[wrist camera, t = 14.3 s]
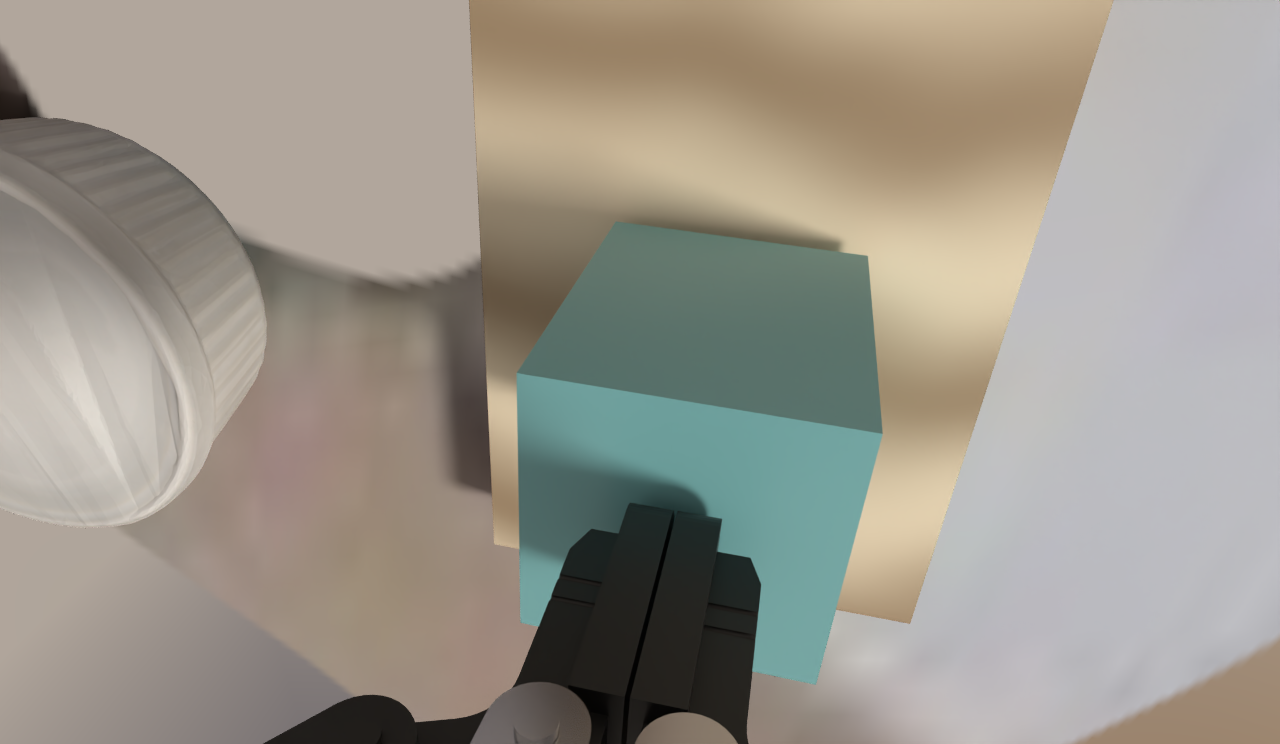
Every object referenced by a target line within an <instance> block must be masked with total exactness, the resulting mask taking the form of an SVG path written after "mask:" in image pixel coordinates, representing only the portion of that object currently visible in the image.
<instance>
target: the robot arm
mask: <svg viewBox="0 0 1280 744" xmlns="http://www.w3.org/2000/svg"><path fill="white" fill-rule="evenodd" d="M721 526H722V519H721V518H716V517H710V516H704V515H699V514H693V513H688V512H682V511H677V514H676V517H675V521H674V510H670V509H664V508H658V507H653V506H647V505H642V504H636V503H629V504H628V507H627V509H626V512H625V515H624V518H623V521H622V524H621V527H620V530H619V533H612V532H607V531H602V530H596V529H591V530H589V531H588V532H587V533H586V534H585V535H584V536H583V537H582V538H581V539H580V540H579V541H577V542H576V543H575V544H574V545H573V546H572V547H571V548H570V549H569V552H568V554H567V557H566V559H565V562H564V564H563V567H562V569H561V572H560V576H559V579H557V582H556V584H555V587H554V589H553V592H552V594H551V599H550V600H549V602H548V604H547V607H546V609H545V612H544V614H543V617H542V619H541V622H540V624H539V627H538V629H537V632H536V634H535V637H534V639H533V642H532V644H531V647H530V649H529V652H528V654H527V657H526V660H525V662H524V665H523V667H522V670H521V672H520V675H519V677H518V679H517V681H516V683H515V685H514V686H513V687H512V688H511V689H510V690H508V691H506V692H504V693H503V694H502V695H501V696H499V697H498V698H497V699H496V700H495V701H494V702H493V703H492V704H491V706H490V707H489V708H488V709H487V710H485V711H482V712H480V713H478V714H475V715H471V716H468V717H464V718H457V719H448V720H437V721H426V722H415V721H414V718H413V717H412V715H411V713H410V712H409V710H408V709H407V708H406V707H405V706H404V705H402V704H401V703H400V702H398V701H396V700H394V699H392V698H389V697H385V696H380V695H363V696H357V697H353V698H350V699H346V700H344V701H342V702H339V703H337V704H335V705H333V706H332V707H330V708H328V709H326V710H324V711H322V712H321V713H319V714H317V715H315V716H313V717H311V718H309V719H308V720H306V721H304V722H302V723H300V724H298V725H297V726H295V727H293V728H291V729H289V730H287V731H286V732H284V733H282V734H280V735H278V736H276V737H275V738H273V739H271V740H269V741H267V742H265V743H264V744H748V739H747V717H748V708H749V698H750V689H751V679H752V670H753V660H754V650H755V639H756V631H757V622H758V612H759V603H760V593H761V582H760V580H759V577H758V575H757V572H756V570H755V568H754V565H753V563H752V560H751V558H749V557H744V556H738V555H733V554H728V553H722V552H718V547H719V540H720V533H721Z"/></svg>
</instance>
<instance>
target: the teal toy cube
mask: <svg viewBox="0 0 1280 744" xmlns="http://www.w3.org/2000/svg"><path fill="white" fill-rule="evenodd" d="M517 433H518V495H519V556H520V618H521V623H525V624H529V625H534V626H539V624H540V622H541V619H542V617H543V614H544V612H545V609H546V607H547V604H548V602H549V600H550V599H551V594H552V592H553V589H554V587H555V584H556V582H557V579H559V576H560V572H561V569H562V567H563V564H564V562H565V559H566V557H567V554H568V552H569V549H570V548H571V547H572V546H573V545H574V544H575V543H576V542H577V541H579V540H580V539H581V538H582V537H583V536H584V535H585V534H586V533H587V532H588V531H589V530H591V529H596V530H602V531H607V532H612V533H619V530H620V527H621V524H622V521H623V518H624V515H625V512H626V509H627V507H628V504H629V503H636V504H642V505H647V506H653V507H658V508H664V509H670V510H674V521H675V517H676V514H677V511H682V512H688V513H693V514H699V515H704V516H710V517H716V518H721V519H722V526H721V533H720V540H719V547H718V552H722V553H728V554H733V555H738V556H744V557H749V558H751V560H752V563H753V565H754V568H755V570H756V572H757V575H758V577H759V580H760V582H761V593H760V603H759V612H758V622H757V631H756V639H755V650H754V660H753V670H752V671H753V672H758V673H763V674H768V675H772V676H777V677H782V678H787V679H791V680H796V681H801V682H806V683H810V684H815V685H816V682H817V678H818V675H819V671H820V667H821V663H822V660H823V656H824V652H825V648H826V645H827V641H828V637H829V633H830V630H831V626H832V622H833V618H834V615H835V611H836V607H837V604H838V600H839V596H840V592H841V589H842V585H843V581H844V577H845V574H846V570H847V566H848V562H849V559H850V555H851V551H852V547H853V544H854V540H855V536H856V532H857V529H858V525H859V521H860V517H861V514H862V510H863V506H864V502H865V499H866V495H867V491H868V487H869V484H870V480H871V476H872V472H873V469H874V465H875V461H876V457H877V454H878V450H879V446H880V443H881V439H882V435H883V430H882V418H881V406H880V394H879V382H878V370H877V358H876V346H875V334H874V322H873V310H872V298H871V286H870V274H869V262H868V256H865V255H858V254H851V253H844V252H836V251H829V250H822V249H814V248H807V247H800V246H792V245H785V244H778V243H770V242H763V241H756V240H748V239H741V238H734V237H727V236H719V235H712V234H705V233H697V232H690V231H683V230H675V229H668V228H661V227H653V226H646V225H639V224H632V223H624V222H617V221H616V222H615V223H614V225H613V226H612V228H611V230H610V231H609V233H608V234H607V236H606V237H605V239H604V240H603V242H602V243H601V245H600V246H599V248H598V249H597V251H596V252H595V254H594V255H593V257H592V259H591V260H590V262H589V263H588V265H587V266H586V268H585V269H584V271H583V272H582V274H581V275H580V277H579V278H578V280H577V281H576V283H575V285H574V286H573V288H572V289H571V291H570V292H569V294H568V295H567V297H566V298H565V300H564V301H563V303H562V304H561V306H560V307H559V309H558V311H557V312H556V314H555V315H554V317H553V318H552V320H551V321H550V323H549V324H548V326H547V327H546V329H545V330H544V332H543V333H542V335H541V336H540V338H539V340H538V341H537V343H536V344H535V346H534V347H533V349H532V350H531V352H530V353H529V355H528V356H527V358H526V359H525V361H524V362H523V364H522V366H521V367H520V369H519V370H518V372H517Z"/></svg>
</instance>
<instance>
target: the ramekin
mask: <svg viewBox="0 0 1280 744" xmlns="http://www.w3.org/2000/svg"><path fill="white" fill-rule="evenodd" d="M266 329H267V322H266V316H265V309H264V301H263V298H262V294H261V289H260V285H259V282H258V279H257V276H256V273H255V270H254V268H253V265H252V263H251V261H250V259H249V256H248V254H247V252H246V250H245V248H244V246H243V245H242V243H241V241H240V239H239V238H238V236H237V234H236V233H235V231H234V230H233V228H232V227H231V225H230V224H229V223H228V221H227V220H226V218H225V217H224V216H223V214H222V213H221V212H220V211H219V209H218V208H217V207H216V206H215V205H214V204H213V203H212V202H211V200H210V199H209V198H208V197H207V196H206V195H205V194H204V193H203V192H202V191H201V190H200V189H199V188H198V187H197V186H196V185H195V184H194V183H193V182H192V181H191V180H190V179H188V178H187V177H186V176H185V175H184V174H182V173H181V172H180V171H179V170H178V169H176V168H175V167H174V166H172V165H171V164H169V163H168V162H167V161H165V160H164V159H162V158H161V157H159V156H158V155H156V154H154V153H153V152H150V151H149V150H147V149H146V148H144V147H142V146H140V145H139V144H137V143H136V142H134V141H132V140H130V139H127V138H124V137H122V136H120V135H118V134H116V133H113V132H111V131H109V130H105V129H101V128H97V127H95V126H92V125H88V124H84V123H77V122H73V121H69V120H66V119H57V118H53V119H48V118H41V117H31V118H19V119H7V120H0V509H3V510H6V511H8V512H11V513H13V514H16V515H20V516H22V517H25V518H30V519H33V520H37V521H41V522H45V523H51V524H56V525H63V526H71V527H82V528H93V527H94V528H95V527H112V526H119V525H126V524H131V523H134V522H137V521H139V520H142V519H144V518H146V517H148V516H150V515H152V514H154V513H156V512H157V511H159V510H160V509H162V508H164V507H165V506H166V505H168V504H169V503H170V502H171V501H172V500H174V499H175V498H176V497H177V496H178V495H179V494H180V493H181V492H182V491H184V490H185V489H186V488H187V487H188V486H189V484H190V483H191V482H192V481H193V480H194V479H195V477H196V476H197V474H198V473H199V471H200V470H201V468H202V466H203V464H204V462H205V460H206V458H207V456H208V454H209V451H210V448H211V446H212V443H213V441H214V440H215V439H216V437H217V436H218V434H219V433H220V432H221V430H222V429H223V427H224V426H225V425H226V423H227V422H228V420H229V419H230V418H231V416H232V415H233V413H234V412H235V410H236V409H237V407H238V406H239V405H240V403H241V402H242V400H243V399H244V397H245V396H246V394H247V393H248V391H249V389H250V388H251V386H252V385H253V383H254V381H255V380H256V378H257V375H258V372H259V368H260V367H261V365H262V363H263V360H264V350H265V347H266Z"/></svg>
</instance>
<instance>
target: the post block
mask: <svg viewBox="0 0 1280 744" xmlns="http://www.w3.org/2000/svg"><path fill="white" fill-rule="evenodd" d="M1113 1H1114V0H469V9H470V30H471V52H472V73H473V93H474V94H473V95H474V116H475V139H476V160H477V182H478V204H479V223H480V247H481V268H482V290H483V312H484V333H485V355H486V376H487V398H488V420H489V441H490V463H491V485H492V506H493V528H494V544H496V545H502V546H507V547H512V548H517V549H519V495H518V433H517V372H518V370H519V369H520V367H521V366H522V364H523V362H524V361H525V359H526V358H527V356H528V355H529V353H530V352H531V350H532V349H533V347H534V346H535V344H536V343H537V341H538V340H539V338H540V336H541V335H542V333H543V332H544V330H545V329H546V327H547V326H548V324H549V323H550V321H551V320H552V318H553V317H554V315H555V314H556V312H557V311H558V309H559V307H560V306H561V304H562V303H563V301H564V300H565V298H566V297H567V295H568V294H569V292H570V291H571V289H572V288H573V286H574V285H575V283H576V281H577V280H578V278H579V277H580V275H581V274H582V272H583V271H584V269H585V268H586V266H587V265H588V263H589V262H590V260H591V259H592V257H593V255H594V254H595V252H596V251H597V249H598V248H599V246H600V245H601V243H602V242H603V240H604V239H605V237H606V236H607V234H608V233H609V231H610V230H611V228H612V226H613V225H614V223H615V222H616V221H617V222H624V223H632V224H639V225H646V226H653V227H661V228H668V229H675V230H683V231H690V232H697V233H705V234H712V235H719V236H727V237H734V238H741V239H748V240H756V241H763V242H770V243H778V244H785V245H792V246H800V247H807V248H814V249H822V250H829V251H836V252H844V253H851V254H858V255H865V256H868V262H869V274H870V286H871V298H872V310H873V322H874V334H875V346H876V358H877V370H878V382H879V394H880V406H881V418H882V430H883V435H882V439H881V443H880V446H879V450H878V454H877V457H876V461H875V465H874V469H873V472H872V476H871V480H870V484H869V487H868V491H867V495H866V499H865V502H864V506H863V510H862V514H861V517H860V521H859V525H858V529H857V532H856V536H855V540H854V544H853V547H852V551H851V555H850V559H849V562H848V566H847V570H846V574H845V577H844V581H843V585H842V589H841V592H840V596H839V600H838V604H837V607H836V610H841V611H846V612H851V613H857V614H862V615H867V616H872V617H877V618H883V619H888V620H893V621H898V622H903V623H909V624H910V622H911V619H912V616H913V613H914V610H915V607H916V604H917V600H918V597H919V594H920V591H921V588H922V585H923V582H924V579H925V576H926V573H927V570H928V567H929V564H930V561H931V558H932V555H933V552H934V548H935V545H936V542H937V539H938V536H939V533H940V530H941V527H942V524H943V521H944V518H945V515H946V512H947V509H948V506H949V503H950V499H951V496H952V493H953V490H954V487H955V484H956V481H957V478H958V475H959V472H960V469H961V466H962V463H963V460H964V457H965V454H966V451H967V447H968V444H969V441H970V438H971V435H972V432H973V429H974V426H975V423H976V420H977V417H978V414H979V411H980V408H981V405H982V402H983V399H984V395H985V392H986V389H987V386H988V383H989V380H990V377H991V374H992V371H993V368H994V365H995V362H996V359H997V356H998V353H999V350H1000V346H1001V343H1002V340H1003V337H1004V334H1005V331H1006V328H1007V325H1008V322H1009V319H1010V316H1011V313H1012V310H1013V307H1014V304H1015V301H1016V298H1017V294H1018V291H1019V288H1020V285H1021V282H1022V279H1023V276H1024V273H1025V270H1026V267H1027V264H1028V261H1029V258H1030V255H1031V252H1032V249H1033V245H1034V242H1035V239H1036V236H1037V233H1038V230H1039V227H1040V224H1041V221H1042V218H1043V215H1044V212H1045V209H1046V206H1047V203H1048V200H1049V197H1050V193H1051V190H1052V187H1053V184H1054V181H1055V178H1056V175H1057V172H1058V169H1059V166H1060V163H1061V160H1062V157H1063V154H1064V151H1065V148H1066V145H1067V141H1068V138H1069V135H1070V132H1071V129H1072V126H1073V123H1074V120H1075V117H1076V114H1077V111H1078V108H1079V105H1080V102H1081V99H1082V96H1083V92H1084V89H1085V86H1086V83H1087V80H1088V77H1089V74H1090V71H1091V68H1092V65H1093V62H1094V59H1095V56H1096V53H1097V50H1098V47H1099V44H1100V40H1101V37H1102V34H1103V31H1104V28H1105V25H1106V22H1107V19H1108V16H1109V13H1110V10H1111V7H1112V4H1113Z"/></svg>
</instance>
